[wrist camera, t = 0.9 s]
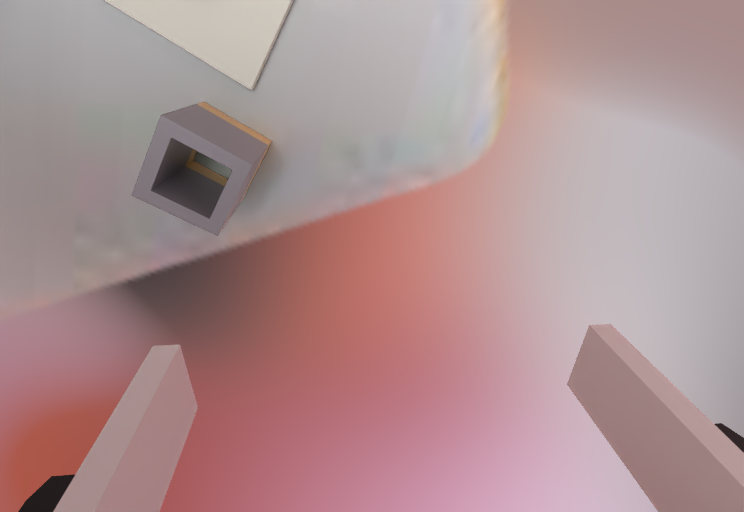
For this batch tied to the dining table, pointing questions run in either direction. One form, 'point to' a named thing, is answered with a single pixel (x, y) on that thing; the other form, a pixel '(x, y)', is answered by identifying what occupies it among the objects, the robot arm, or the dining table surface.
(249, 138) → the sleeve
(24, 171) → the dining table surface
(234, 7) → the pin board
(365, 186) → the dining table surface
